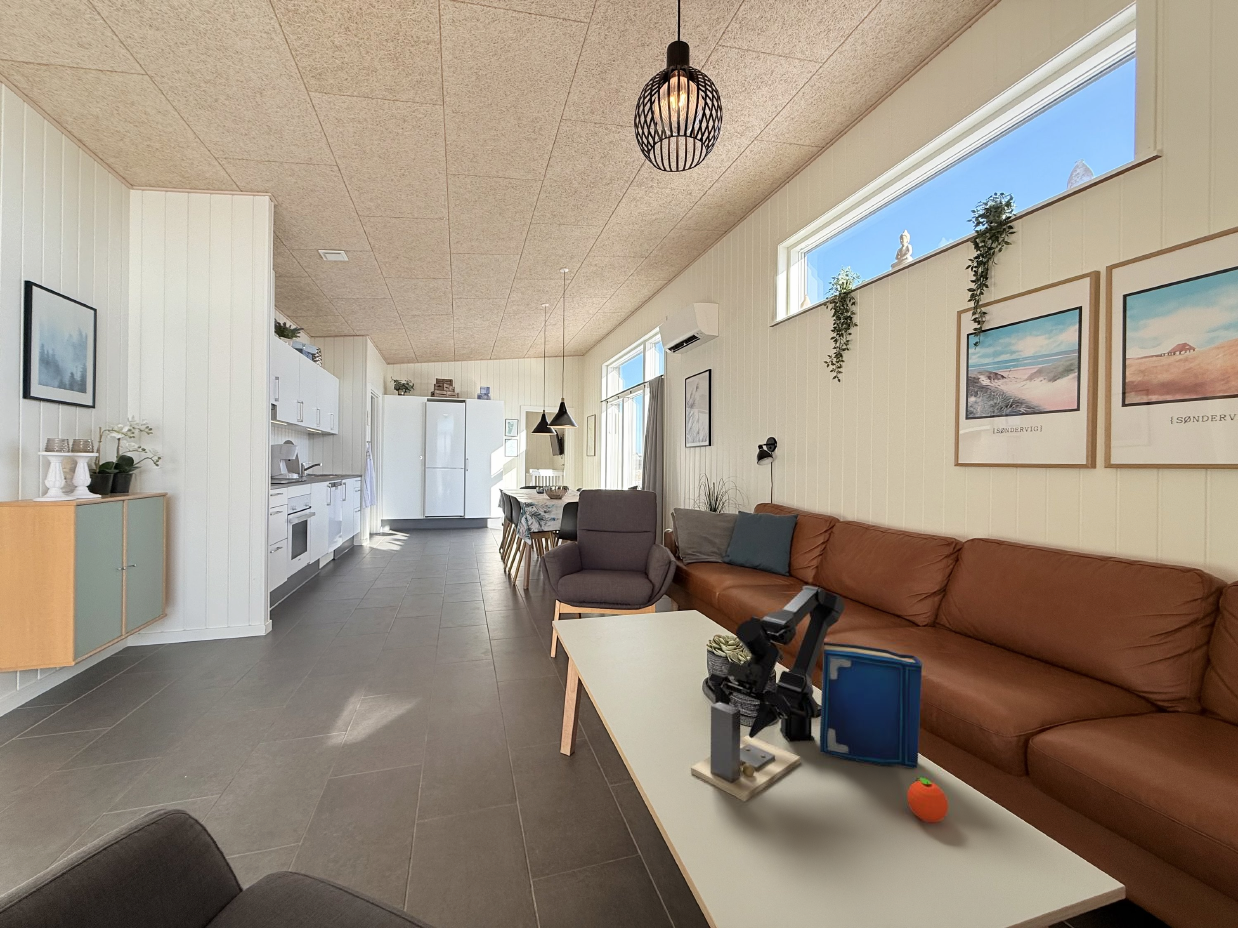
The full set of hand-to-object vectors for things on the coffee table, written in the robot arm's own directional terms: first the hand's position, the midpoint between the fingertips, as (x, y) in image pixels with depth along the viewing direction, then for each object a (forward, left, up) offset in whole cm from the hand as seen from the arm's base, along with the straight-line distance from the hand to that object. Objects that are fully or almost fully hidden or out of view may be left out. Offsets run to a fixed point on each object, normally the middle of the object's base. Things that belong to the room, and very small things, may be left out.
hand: (732, 729), depth 121 cm
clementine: (-33, +18, -11) cm, 39 cm away
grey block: (+1, 0, -9) cm, 9 cm away
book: (-35, -4, -11) cm, 36 cm away
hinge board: (-5, -3, -10) cm, 12 cm away
